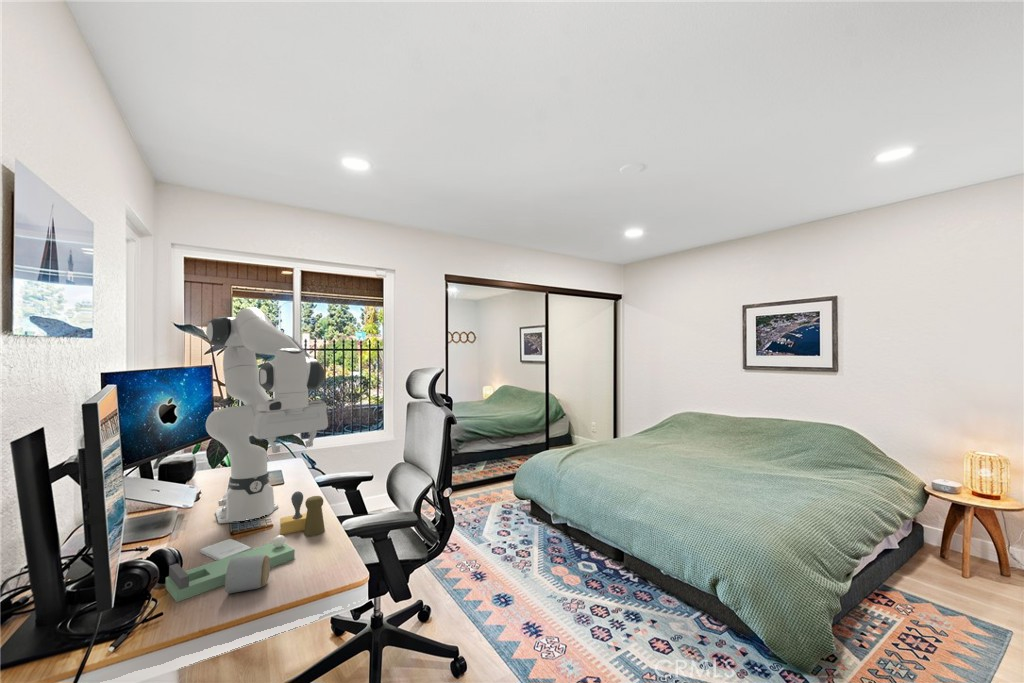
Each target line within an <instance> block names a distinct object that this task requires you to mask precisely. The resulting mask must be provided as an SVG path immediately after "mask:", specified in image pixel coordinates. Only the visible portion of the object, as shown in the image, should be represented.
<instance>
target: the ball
mask: <svg viewBox="0 0 1024 683" xmlns="http://www.w3.org/2000/svg"><path fill="white" fill-rule="evenodd" d="M286 541H287V540H286V537H285V536H284V534H283V535H280V534H279V535H278V534H277V535H276V536H274V538H273V539H272V542H273V546H274V547H276V548H280V547H282V546H283V545H284V544H286Z"/></svg>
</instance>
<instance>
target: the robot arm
mask: <svg viewBox="0 0 1024 683" xmlns="http://www.w3.org/2000/svg"><path fill="white" fill-rule="evenodd" d="M207 323H208V324H207V327H206V331H205V332H206V334H205V335H206V337H207V339H208V342H209V343H210V344H211V345H212V346H216V347H225V349H224V350H223V356H222V357H223V358H222V368H223V369H222V370H223V377H224V383H225V392H226V393H227V394H228V395H229V396H230V397H231V398H233V399H236V400H239V401H240V402H242V403H243V404H244V405H237V406H228V407H227V406H226V407H224V408H219V409H215V410H213V411H211V413H209V415H208V416H207V419H206V421H205V430H206V432H207V433H208V435H209V436H210V437H211V438H212V439H214V440H216V441H218V442H219V443H220V444H222V445H223V447H225V449H226V451H227V452H228V455H229V462H230V477H229V481H228V489H227V490H226V492H224V494H223V496H222V499H218V503H217V504H218V507H220V508H217V509H215V513H214V514H215V516H216V519H217V522H218V524H227V523H233V522H232V521H238V520H246V519H253V518H258V517H261V516H264V517H266V516H265V515H267V516H269V515H271V514H272V513H273V512H274V511H275V510H277V509H279V505H278V504H277V503H275V498H274V497H275V496H274V487H273V486H272V485H271V484H269V483H270V475H269V473H270V472H269V471H268V452H267V450H266V449H265V448H264V447H262V446H260V445H256V444H252V443H251V441H250V437H252V436H253V437H254V438H255V439H256V440H264V439H267V442H268V444H269V445H270V446H271V453H273V454H277V453H280V452H281V446H280V445H277V444H276V442H275V441H277V440H276V438H278V437H283V436H289V435H296V434H304V433H308V435H309V437H308V440H304V441H305V448H310V447H312V448H313V445H314V439H316V436H317V431H323V430H327V428H328V427H329V421H328V414H327V408H328V407H327V403H326V402H325V401H324V400H323V399H317V400H309V391H315V390H317V389H318V388H319V387H320V386H321V385H322V384H323V382H324V380H325V377H326V376H325V374H326V372H325V369H324V366H323V365H322V364H321V363H320V362H319V361H318V360H317V359H315V358H314V357H312V356H311V355H310V354H309V353H308V352H307V351H306V350H305V349H304V348H303V346H301V345H300V343H299V342H298V341H297V340H295V338H293V337H291V336H289V335H287V334H286V333H284V332H283V331H281V330H280V329H279V328H278V327H276V324H275V322H274V321H273V320H272V319H270V318H269V317H268V316H267V314H265V313H264V312H263V311H262V310H261V309H260V308H257V307H251V306H249V307H245V308H241V309H240V310H238V312H237V313H236V315H235V316H230V317H226V316H218V317H213V318H212V319H211V320H209V321H208V322H207ZM256 354H258V355H259V354H261V355H270V356H274V358H273V359H272V360H270V361H267V362H266V363H264V364H262V366H261V367H260V368H259V365H258V361H257V356H256ZM267 392H271V393H273V392H274V397H273V398H272V397H271V396H270V395H269V394H268V393H267Z"/></svg>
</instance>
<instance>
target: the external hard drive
mask: <svg viewBox="0 0 1024 683" xmlns="http://www.w3.org/2000/svg"><path fill="white" fill-rule="evenodd" d="M251 549H253V547H252V546H249V545H246V544H244V543H242V542H240V541H238V540H235V539H234V538H228V539H225V540H222V541H220V542H217V543H212V544H211V545H207V546H205V547H202V548H200V552H201V553H200V552H199V553H200V554H203V555H205V556H207V557H209V558H211V559H212V560H213V559H214V560H215V561H217V560H220V559H223V558H226V557H230V556H233V555H236V554H239V553H242V552H245V551H248V550H251Z"/></svg>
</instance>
